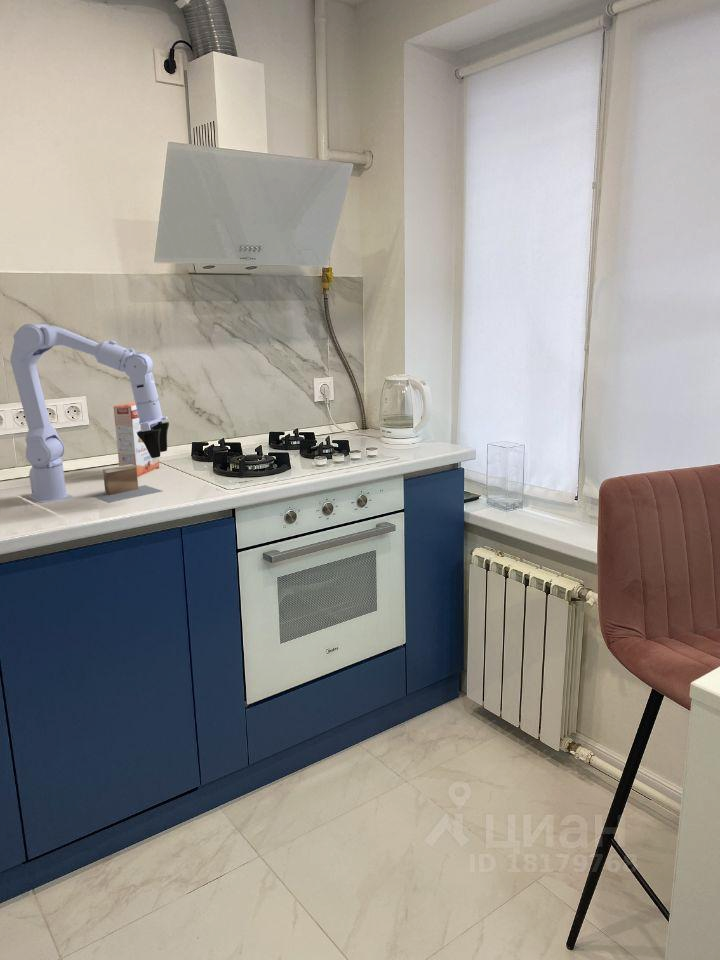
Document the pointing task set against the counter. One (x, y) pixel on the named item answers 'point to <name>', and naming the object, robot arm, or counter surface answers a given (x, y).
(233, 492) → the counter surface
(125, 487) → the slab
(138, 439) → the cracker box
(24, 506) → the counter surface
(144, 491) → the mat
